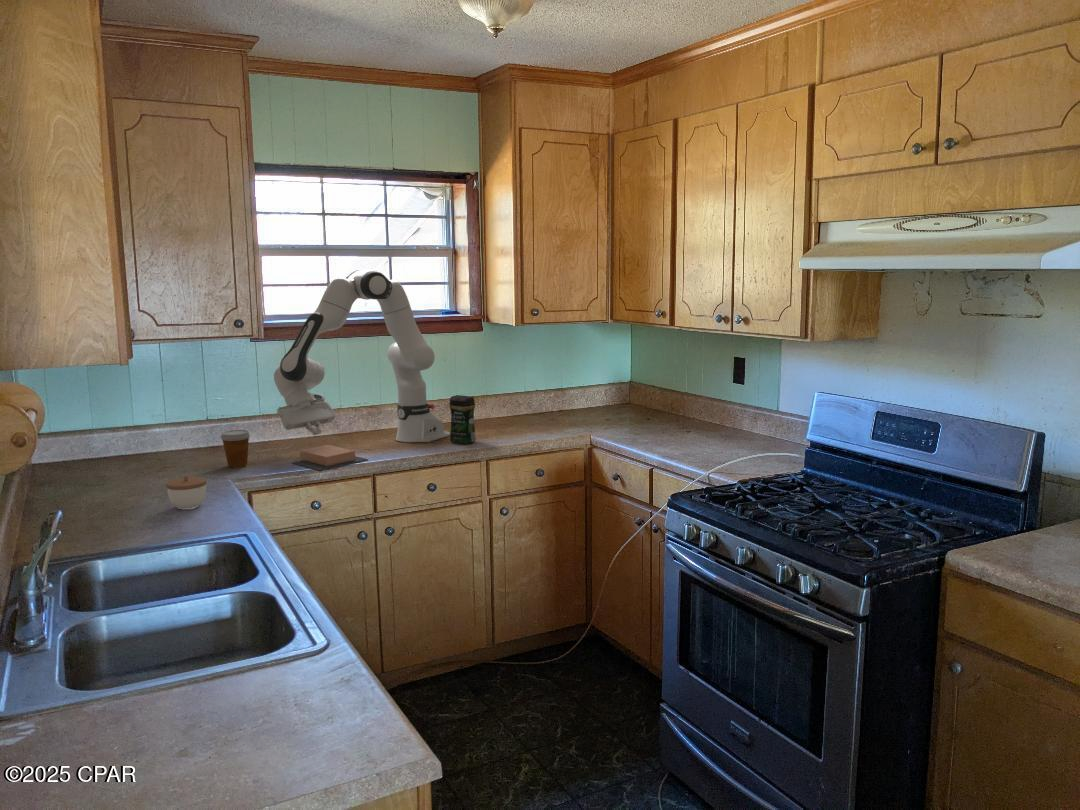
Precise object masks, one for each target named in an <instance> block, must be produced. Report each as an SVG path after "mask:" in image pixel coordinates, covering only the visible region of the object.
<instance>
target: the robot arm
mask: <svg viewBox="0 0 1080 810" xmlns="http://www.w3.org/2000/svg"><path fill="white" fill-rule="evenodd" d="M408 298H409V297H408V296H407V293H406V290H405V289H404V287H403V285H402V284H401V282H399V281H398V280H395V279H388V278H387V276H386V275H385V274H384V273H382V272H381V271H378V270H375V269H374V270H373V269H360V270H359V269H358V270H355V271H353V272H351V273H350V274H349V275H348V276H346V277H334V278H332V280H331V281H330V283H329V284H328V286H327V287H326V289H325V291H324V293H323V295H322V298H321V299H320V301H319V304H318V306H317V307H316V309H315V310H314V312H313V313H311V314H310V315H309V316H308V317H307V319H306V320H305V322H304V323H303V325H302V327H301V329H300V330H299V332H298V334H297V336H296V338H295V340H294V342H293V344H292V346H291V347H290V349H289V350H288V351H287V352H286V354H285V355H284V356H283V357H282V359H281V360H280V363H279V367H277V369H276V370H275V371H274V373H273V381H274V385H276V387H277V390H278V392H279V394H280V395H281V396H282V397H283V399H284V402H285V404H286V405H285V406H279V407H278V408H277V410H276V413H277V414H278V416H279V417H280V421H281V424H282V426H283V428H284V429H286V430H288V431H290V430H294V429H295V430H296V429H300V428H305V429H306V430H307V431H309V432H310V433H311V434H312V435H313V436H315V435H321V434H322V429H321V425H324V424H328V423H329V424H330V423H332V422H333V421H334V420H335V418H336V412H335V410H334V409H333V407H332V406H331V405H330V403H328V401H325V400H326V397H325V396H324V395H323V394H316V393H311V392H309V391H310V390H312V389H313V388H315V387H316V386H318V385H320V384H321V383H322V381H323V380H324V378H325V374H326V373H325V367H324V366H323V364H322V363H320V361H317V360H314V359H312V358H309V357H308V354H309V353H310V351H311V349H312V347H313V345H314V344H315V341H316V340H317V338H318V337H319V335H321V334H322V333H325V332H331V331H336V330H339V329H340V328H342V327H343V326H344V324H345V323H346V321H347V320H348V317H349V316H350V315H349V314H350V312H351V309H352V306H353V305H354V302H355V301H356V300H357V299H362V300H366V301H367V300H376V301H377V303H378V304H379V306H380V310H381V314H382V317H383V319H384V323H385V326H386V329H387V332H388V333H389V335H390V336H391V337H392V338H393V340H394V341H395V342H393V343H391V344H390V345H389V347H388V350H387V358H388V360H389V361H390V363H391V365H392V369H393V373H394V376H395V379H396V384H397V385H396V386H397V401H398V403H397V406H396V407H397V415H398V420H397V428H396V429H397V430H396V431H397V432H396V436H395V440H396V441H398V442H402V443H430V442H433V441H436V440H439V439H443V438H445V437H446V438H447V437H450V432H449V431H446V430H445V426H444V423H443V421H442V419H440V418H439V417H438V416H436V415H435V414H434V413H432V412H431V409H432V410H434V409H435V404H434V403H428V402H427V384H426V382H425V380H424V378H423V376H422V372H421V371H425V370H428V369H430V368H431V367H432V366H433V364H434V363H435V358H436V357H435V352H434V350H433V348H431V346H430V345H429V344H428V343H427V341H426V340H425V338H424V336H423V334H422V333H421V331H420V329H419V326H418V325H417V322H416V320H415V316H414V314H413V310H412V308H411V303H410V301H409V299H408ZM313 426H314V427H313Z"/></svg>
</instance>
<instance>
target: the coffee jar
mask: <svg viewBox="0 0 1080 810" xmlns="http://www.w3.org/2000/svg"><path fill="white" fill-rule="evenodd" d="M448 404H449V409H450V419H451V420H450V432H449V433H450V436H449V439H450V440H449V441H450V442H451V443H453V444H457V443H458V445H468V444H469V443H471V444H474V443H475V442H476V429H475V414H474V413H475V407H476V402H475V398H474V396H470V395H469V396H468V395H463V394H462V395H460V394H459V395H458V394H457V395H453V396H451V397H450V399H449V403H448ZM473 442H474V443H473Z"/></svg>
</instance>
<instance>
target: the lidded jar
mask: <svg viewBox="0 0 1080 810" xmlns="http://www.w3.org/2000/svg"><path fill="white" fill-rule="evenodd" d="M165 487H166V491H167V493H166V494H167V496H168V499H169V502H170V503H171V504H172V505H173V506H174V507H175V508H176V509H177V508H181V509H183V508H192V507H196V506H199V505H200V506H201V505H202V504H203V502H204V500H205V499H206V495H207V479H206V478H205V477H202V476H201V477H200V476H188V475H183V477H179V478H174V479H170V480H169V481H167V482H166V483H165ZM200 506H199V507H200Z"/></svg>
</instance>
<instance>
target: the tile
mask: <svg viewBox="0 0 1080 810" xmlns="http://www.w3.org/2000/svg"><path fill="white" fill-rule="evenodd" d="M355 456H356V452H355V450H352V449H348V448H343V447H338V446H335V445H330V444H326V445H325V444H324V445H321V446H316V447H311V448H306V449H300V450H299V459H300V460H305V461H309V462H313V463H317V464H321V465H324V466H330V465H335V464H339V463H343V462H348V461H352V460H354V459H355Z"/></svg>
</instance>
